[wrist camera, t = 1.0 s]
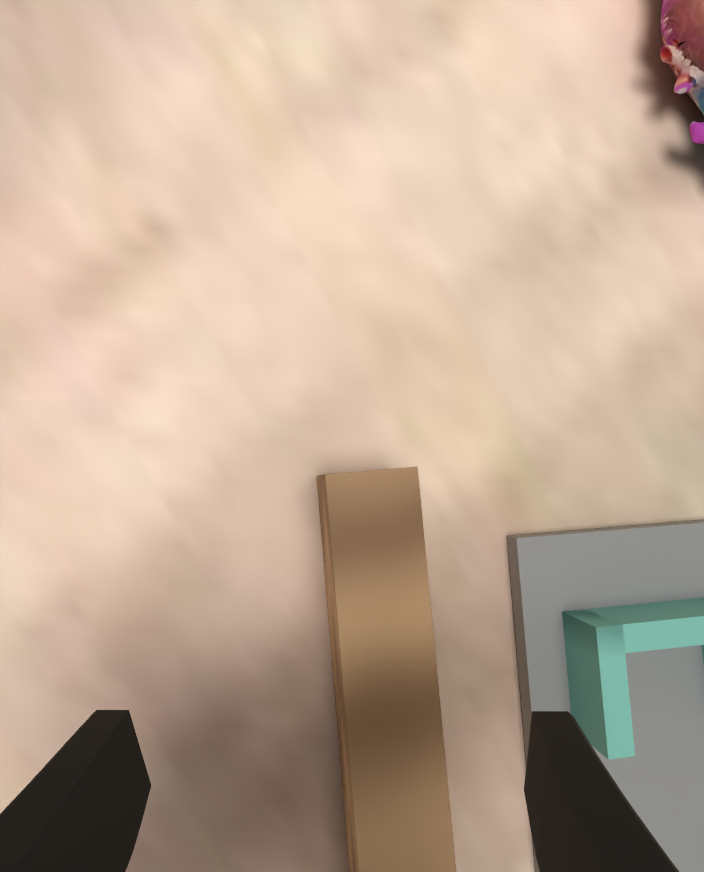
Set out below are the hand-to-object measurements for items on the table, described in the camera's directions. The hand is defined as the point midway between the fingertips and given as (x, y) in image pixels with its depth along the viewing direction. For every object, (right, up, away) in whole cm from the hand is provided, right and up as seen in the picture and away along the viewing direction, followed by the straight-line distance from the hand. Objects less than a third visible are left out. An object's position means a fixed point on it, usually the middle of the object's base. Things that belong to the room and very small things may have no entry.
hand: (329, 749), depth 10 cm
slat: (+1, -4, +13) cm, 13 cm away
